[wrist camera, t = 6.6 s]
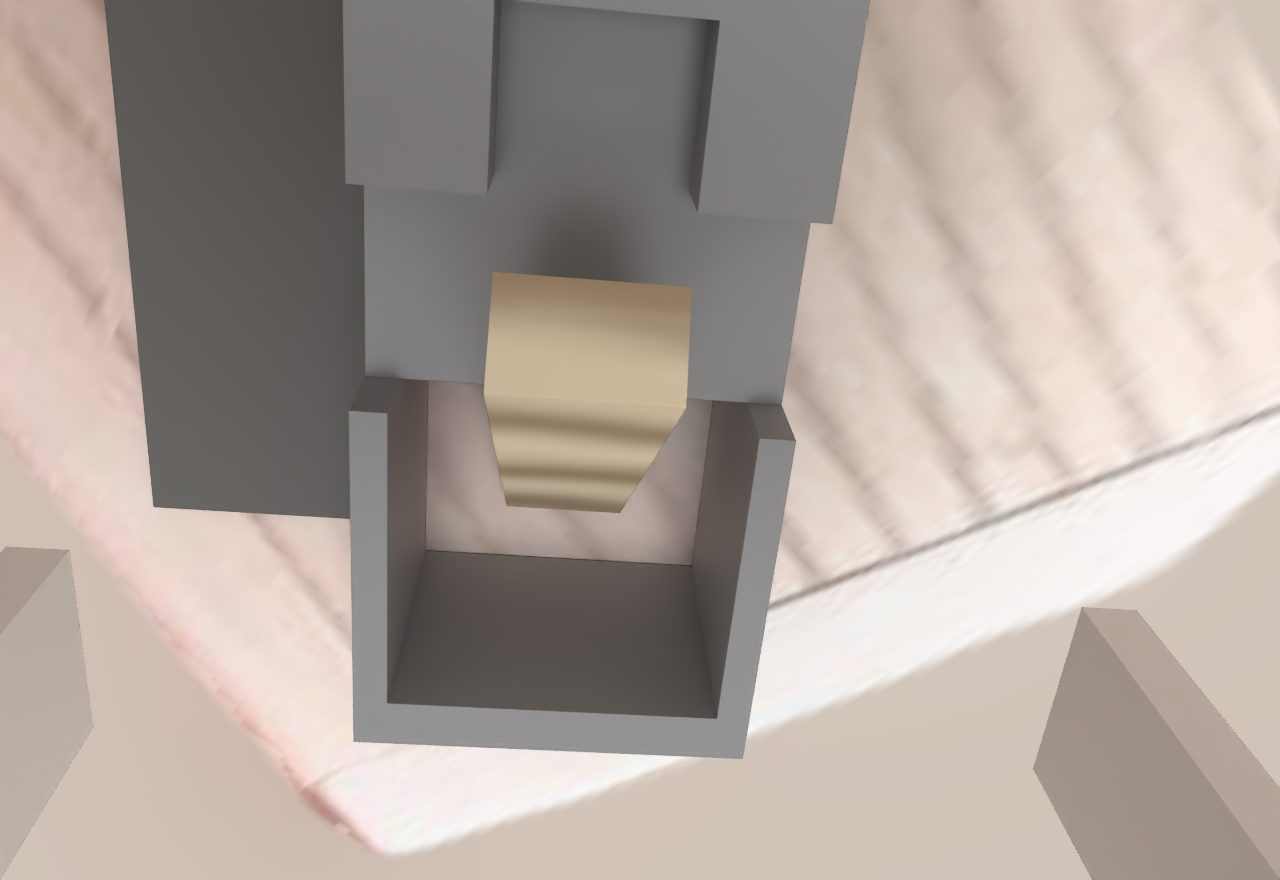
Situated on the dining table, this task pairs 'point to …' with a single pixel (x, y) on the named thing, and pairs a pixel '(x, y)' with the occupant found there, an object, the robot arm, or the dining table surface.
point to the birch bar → (582, 385)
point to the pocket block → (598, 250)
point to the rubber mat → (241, 249)
